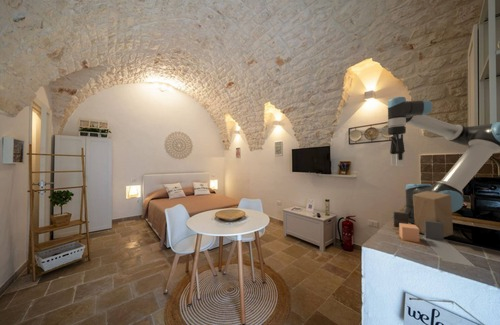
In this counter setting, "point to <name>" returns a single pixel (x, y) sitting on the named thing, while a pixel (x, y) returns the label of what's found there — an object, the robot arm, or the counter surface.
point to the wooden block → (433, 210)
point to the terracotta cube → (409, 232)
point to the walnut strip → (403, 218)
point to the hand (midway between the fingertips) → (396, 165)
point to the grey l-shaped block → (442, 243)
